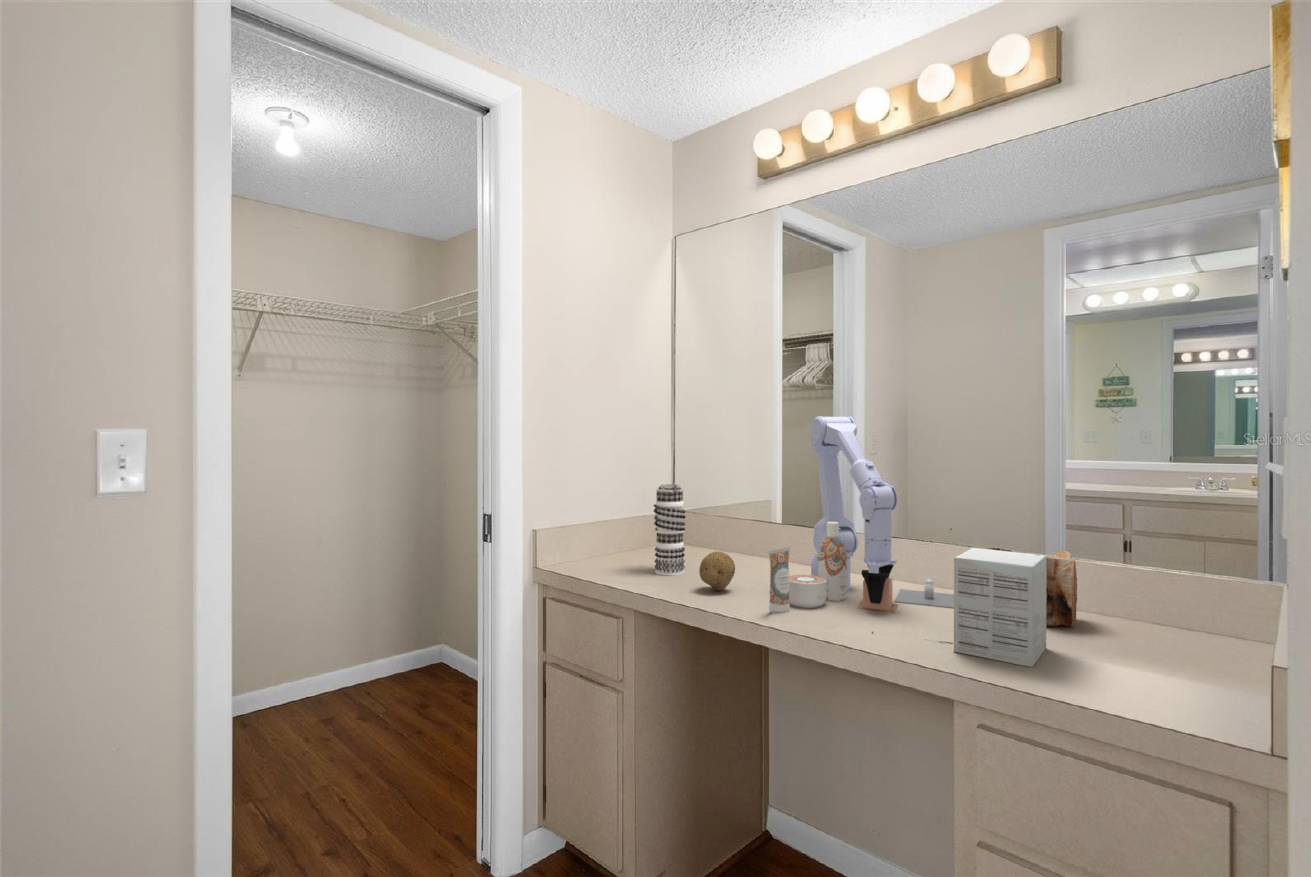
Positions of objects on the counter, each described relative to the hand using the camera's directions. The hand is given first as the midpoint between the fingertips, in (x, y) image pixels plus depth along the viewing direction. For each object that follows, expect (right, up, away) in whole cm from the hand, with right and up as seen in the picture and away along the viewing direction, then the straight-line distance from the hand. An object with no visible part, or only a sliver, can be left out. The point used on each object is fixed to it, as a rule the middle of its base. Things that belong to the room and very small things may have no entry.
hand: (877, 599), depth 150 cm
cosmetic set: (-15, -3, +3) cm, 16 cm away
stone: (+34, -3, -11) cm, 35 cm away
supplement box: (+13, -3, -28) cm, 31 cm away
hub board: (+14, -2, +6) cm, 16 cm away
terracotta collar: (0, -2, 0) cm, 2 cm away
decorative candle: (-46, -2, +40) cm, 61 cm away
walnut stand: (0, -2, 0) cm, 2 cm away
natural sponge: (-35, -3, +18) cm, 39 cm away
